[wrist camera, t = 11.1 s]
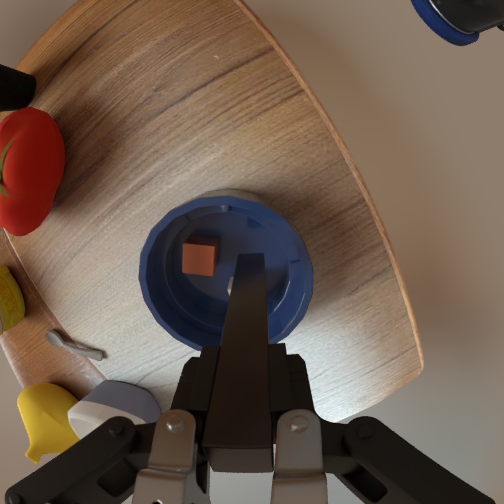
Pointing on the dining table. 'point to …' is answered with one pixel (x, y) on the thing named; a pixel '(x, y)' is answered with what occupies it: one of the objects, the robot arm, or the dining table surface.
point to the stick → (242, 379)
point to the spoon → (58, 341)
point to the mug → (10, 301)
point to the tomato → (29, 169)
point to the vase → (47, 419)
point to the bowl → (112, 407)
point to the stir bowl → (224, 266)
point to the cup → (15, 89)
